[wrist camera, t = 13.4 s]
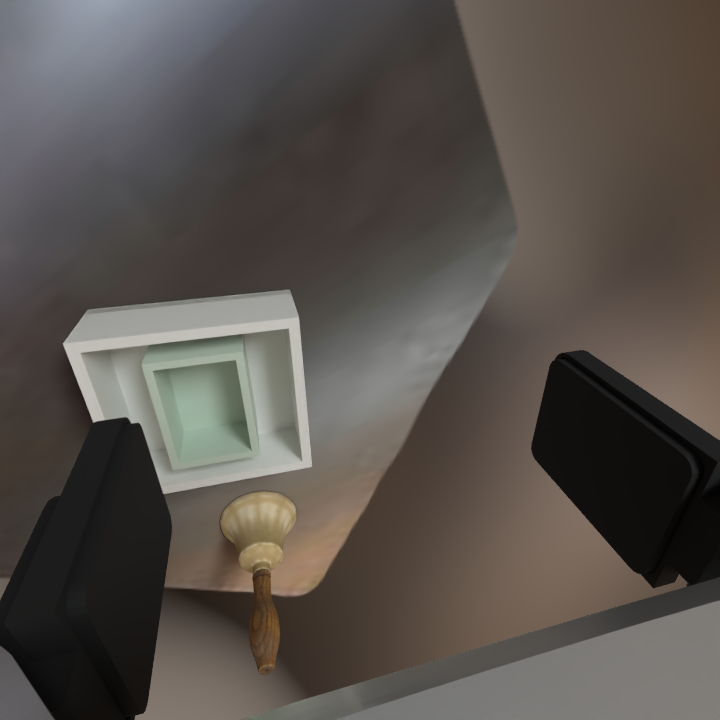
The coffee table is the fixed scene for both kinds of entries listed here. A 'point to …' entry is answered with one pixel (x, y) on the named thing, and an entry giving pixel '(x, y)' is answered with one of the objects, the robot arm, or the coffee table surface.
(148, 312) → the big crate
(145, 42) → the coffee table surface
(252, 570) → the hand bell
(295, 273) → the coffee table surface
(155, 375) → the small crate
